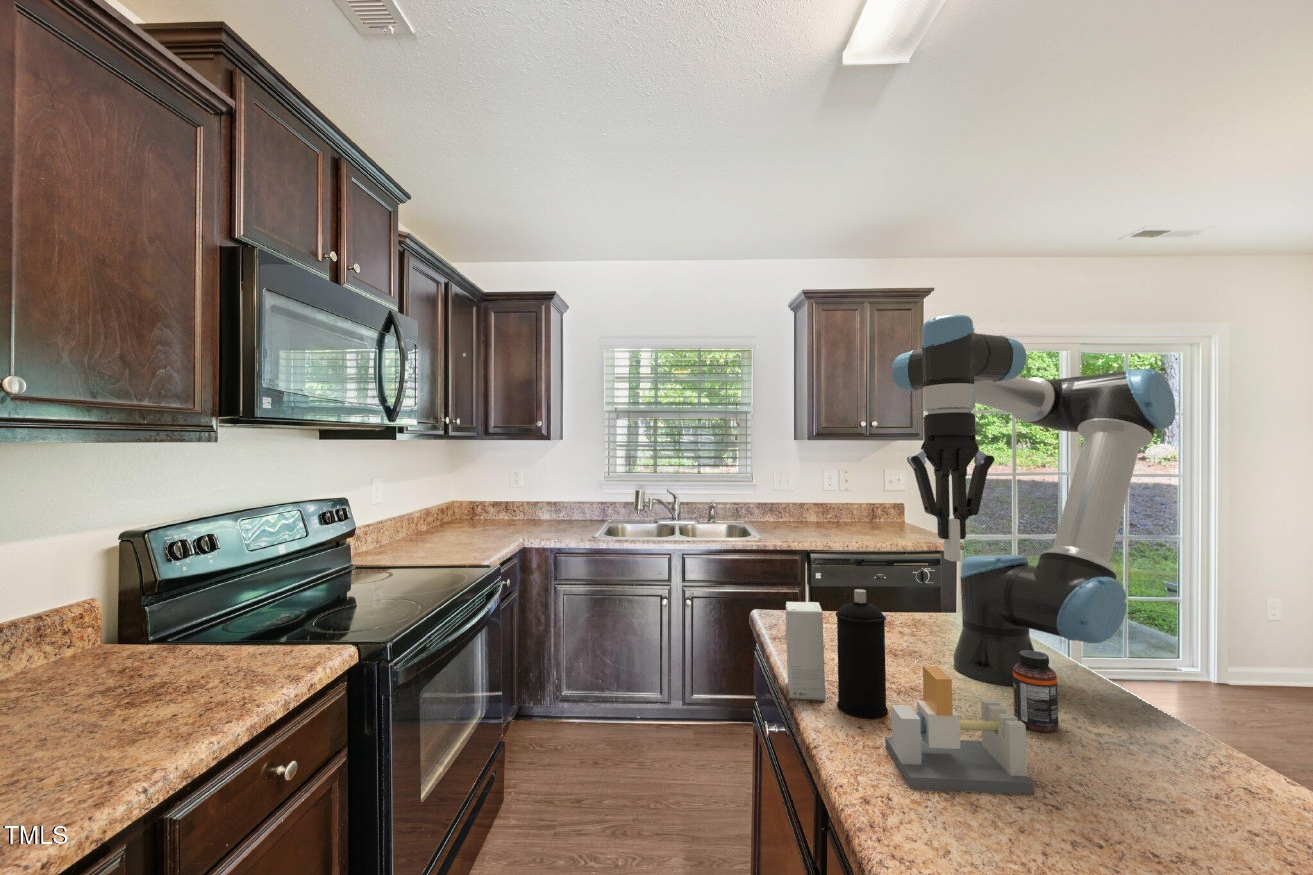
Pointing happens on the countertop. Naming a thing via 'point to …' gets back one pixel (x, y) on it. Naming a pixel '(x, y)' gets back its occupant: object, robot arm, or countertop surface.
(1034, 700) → the supplement bottle
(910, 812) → the countertop surface
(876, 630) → the aerosol can
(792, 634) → the skincare box
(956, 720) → the sleeve
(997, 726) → the cord board
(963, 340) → the robot arm
